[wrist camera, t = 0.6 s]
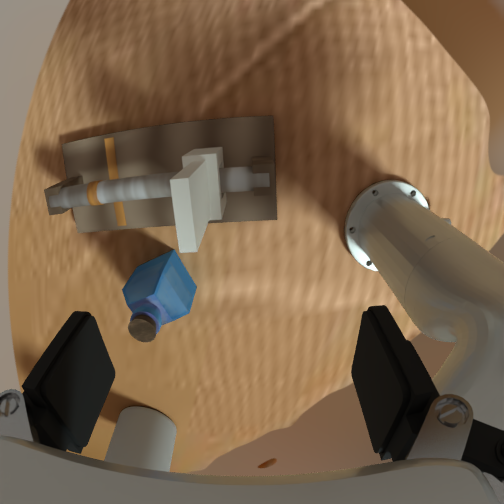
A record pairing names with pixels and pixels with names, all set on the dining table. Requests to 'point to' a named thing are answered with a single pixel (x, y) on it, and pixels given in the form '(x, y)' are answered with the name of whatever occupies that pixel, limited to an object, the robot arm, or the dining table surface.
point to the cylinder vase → (142, 439)
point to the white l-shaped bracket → (197, 196)
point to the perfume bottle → (158, 295)
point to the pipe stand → (165, 173)
